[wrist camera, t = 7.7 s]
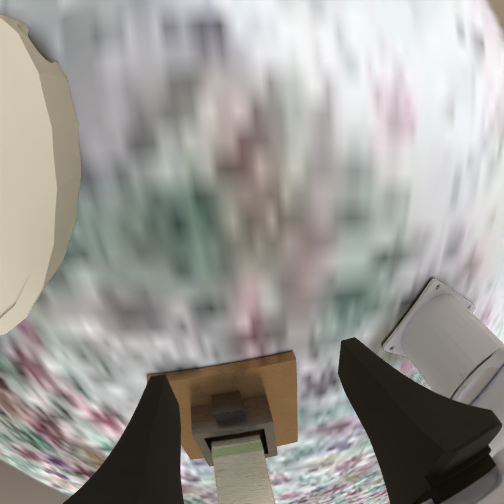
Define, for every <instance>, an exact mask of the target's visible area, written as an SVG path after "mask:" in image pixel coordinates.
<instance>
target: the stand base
mask: <svg viewBox="0 0 504 504" xmlns="http://www.w3.org/2000/svg"><path fill="white" fill-rule="evenodd" d="M157 375H166V377H167V379H168V381H169V384H170V386H171V388H172V390H173V392H174V395H175V397H176V399H177V401H178V403H179V409H180V419H181V445H182V447H183V448H184V450H185V451H186V453H187V454H188V456H189V458H190V459H200V458H205V459H206V461H207V463H208V465H209V466H214V463H213V458H212V451H211V449H212V444H211V442H214V441H221V440H228V439H235V438H241V437H247V436H252V435H258V434H259V435H260V440H261V442H262V446H263V450H264V455H265V458H267V457H272V456H277V447H276V446H281V445H285V444H290V443H294V442H298V435H297V373H296V358H295V355H294V353H293V351H290V352H285V353H281V354H276V355H271V356H266V357H261V358H256V359H251V360H245V361H240V362H234V363H229V364H223V365H217V366H210V367H204V368H197V369H190V370H183V371H175V372H167V373H158V374H149V375H148V378H147V383H148V381H149V378H150V377H151V376H157Z"/></svg>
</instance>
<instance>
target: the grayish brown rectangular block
mask: <svg viewBox="0 0 504 504" xmlns="http://www.w3.org/2000/svg"><path fill="white" fill-rule="evenodd" d="M211 444H212V449H211V451H212V458H213V463H214V471H215V479H216V487H217V495H218V502H219V504H276V503H275V499H274V495H273V491H272V487H271V483H270V479H269V474H268V470H267V465H266V460H265V455H264V450H263V446H262V442H261V440H260V435H259V434H258V435H252V436H247V437H241V438H235V439H228V440H221V441H214V442H211Z"/></svg>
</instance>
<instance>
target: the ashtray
mask: <svg viewBox="0 0 504 504" xmlns="http://www.w3.org/2000/svg"><path fill="white" fill-rule="evenodd" d="M28 28H29V27H28V26H26V25H25V24H24V23H22V22H20V21H17V20H15V19H12V18H9V17H7V16H4V15H1V14H0V335H3V334H6V333H7V332H9V331H10V330H11V329H12V328H14V327H15V326H16V325H17V324H18V323H20V322H21V321H22V320H23V319H25V318H26V317H27V315H28V314H29V312H30V311H31V309H32V308H33V306H34V304H35V303H36V301H37V299H38V298H39V296H40V294H41V293H42V291H43V289H44V288H45V286H46V285H47V283H48V282H49V280H50V279H51V277H52V276H53V275H54V274H55V272H56V271H57V269H58V268H59V266H60V264H61V263H62V261H63V260H64V257H65V254H66V251H67V247H68V244H69V241H70V238H71V235H72V232H73V229H74V226H75V223H76V220H77V208H78V199H79V190H80V182H81V174H82V171H81V159H80V145H79V124H78V120H77V116H76V113H75V109H74V105H73V101H72V98H71V94H70V90H69V86H68V81H67V78H66V76H65V74H64V72H63V71H62V69H61V67H60V65H59V64H58V63H56V61H55V60H54V62H53V63H50V62H49V61H47V60H46V59H45V58H44V57H43V56H42V55H41V54H40V53H39V52H38V51H37V49H36V48H35V46H34V45H33V44H32V42H31V41H30V39H29V37H28V35H29V30H30V28H29V29H28Z"/></svg>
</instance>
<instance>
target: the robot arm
mask: <svg viewBox="0 0 504 504" xmlns="http://www.w3.org/2000/svg"><path fill="white" fill-rule="evenodd" d="M474 310H475V305H474V304H473V303H471V302H470V301H468V300H467V299H465V298H464V297H462V296H461V295H460V294H458V293H457V292H455V291H454V290H452V289H451V288H449V287H448V286H446V285H445V284H443V283H442V282H440V281H439V280H437V279H435V278H434V279H432V280H431V281H430V282H429V284H428V285H427V286H426V288H425V289H424V291H423V292H422V294H421V295H420V297H419V298H418V299H417V301H416V302H415V304H414V305H413V306H412V308H411V309H410V310H409V312H408V313H407V314H406V316H405V317H404V319H403V320H402V321H401V322H400V324H399V325H398V326H397V328H396V329H395V330H394V332H393V333H392V334H391V335H390V337H389V338H388V339H387V340H386V342H385V343H384V344H383V346H382V348H383V349H384V351H387V352H390V353H394V354H397V355H401V356H405V357H408V358H409V359H410V360H411V361H412V363H413V364H414V366H415V367H416V368H417V370H418V371H419V372H420V374H421V375H422V377H423V378H424V379H425V381H426V382H427V383H428V385H429V386H430V388H431V389H432V390H433V391H431V390H429V389H427V388H425V387H423V386H422V385H420V384H418V383H416V382H414V381H413V380H411V379H410V378H408V377H406V376H405V375H403V374H402V373H400V372H399V371H398V370H396V369H395V368H393V367H392V366H391V365H389V364H388V363H387V362H385V361H384V360H383V359H381V358H380V357H379V356H377V355H376V354H375V353H374V352H372V351H371V350H370V349H369V348H367V347H366V346H365V345H364V344H363V343H361V342H360V341H359V340H358V339H356V338H355V337H354V338H350V339H346V340H343V341H341V349H340V359H339V369H338V375H339V377H340V380H341V383H342V386H343V388H344V391H345V393H346V395H347V397H348V399H349V401H350V403H351V405H352V407H353V408H354V410H355V412H356V414H357V416H358V418H359V420H360V421H361V423H362V425H363V427H364V429H365V431H366V433H367V435H368V437H369V439H370V442H371V444H372V447H373V449H374V452H375V455H376V457H377V460H378V463H379V466H380V469H381V472H382V475H383V478H384V482H385V485H386V488H387V492H388V496H389V500H390V504H504V344H503V343H502V342H501V341H500V340H499V339H498V338H497V337H496V336H495V335H494V334H493V333H492V332H491V331H490V330H489V329H488V328H487V327H486V326H485V325H484V324H483V323H482V322H481V321H480V320H479V319H478V318H477V317H476V316H475V315H474V314H473V311H474ZM180 455H181V419H180V409H179V403H178V401H177V399H176V397H175V395H174V392H173V390H172V388H171V386H170V384H169V381H168V379H167V377H166V375H157V376H151V377H150V378H149V381H148V383H147V386H146V388H145V390H144V393H143V395H142V397H141V399H140V401H139V404H138V406H137V408H136V410H135V412H134V414H133V416H132V418H131V420H130V422H129V424H128V425H127V427H126V429H125V431H124V433H123V434H122V436H121V438H120V440H119V441H118V443H117V444H116V446H115V447H114V449H113V450H112V452H111V453H110V455H109V456H108V457H107V459H106V460H105V461H104V463H103V464H102V465H101V466H100V468H99V469H98V470H97V471H96V472H95V474H94V475H93V476H92V477H91V478H90V479H89V480H88V481H87V482H86V483H85V484H84V485H83V486H82V487H81V488H80V489H79V490H78V491H77V492H76V493H75V494H73V495H72V496H71V497H70V498H69V499H68V500H66V501H65V502H64V503H63V504H184V501H183V494H182V486H181V475H180Z"/></svg>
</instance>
